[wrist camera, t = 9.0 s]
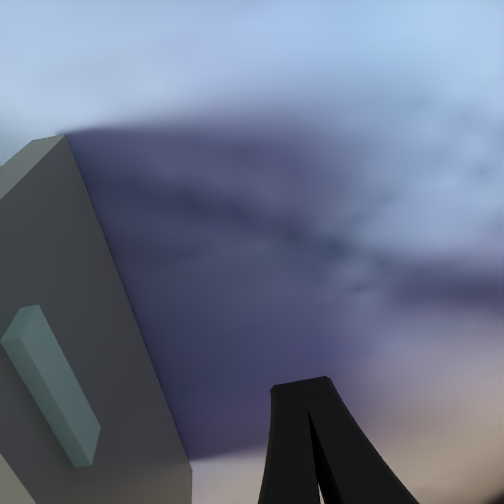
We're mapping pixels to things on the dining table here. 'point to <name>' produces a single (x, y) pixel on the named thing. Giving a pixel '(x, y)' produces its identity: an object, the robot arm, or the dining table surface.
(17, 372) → the grey box with handle
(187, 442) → the dining table surface
